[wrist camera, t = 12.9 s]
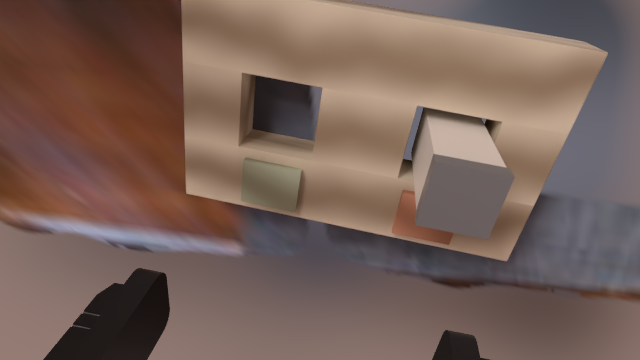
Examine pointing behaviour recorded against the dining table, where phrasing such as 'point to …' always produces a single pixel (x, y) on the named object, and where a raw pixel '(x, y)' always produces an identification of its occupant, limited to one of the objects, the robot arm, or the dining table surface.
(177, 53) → the dining table surface
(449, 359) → the robot arm
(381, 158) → the socket block
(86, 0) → the dining table surface
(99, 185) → the dining table surface
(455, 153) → the plug
